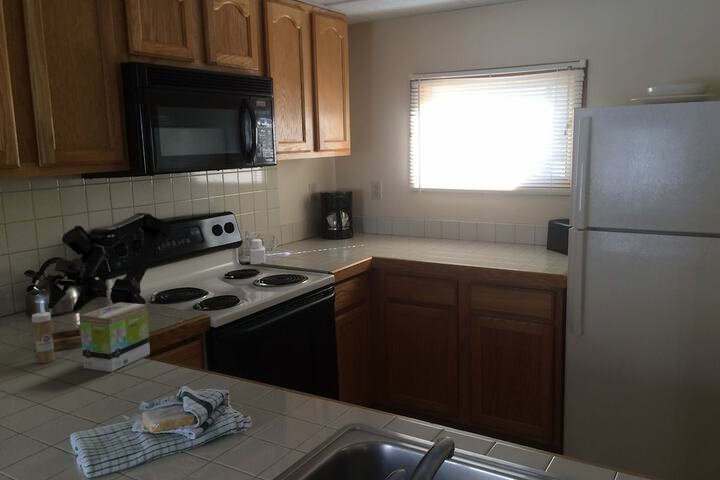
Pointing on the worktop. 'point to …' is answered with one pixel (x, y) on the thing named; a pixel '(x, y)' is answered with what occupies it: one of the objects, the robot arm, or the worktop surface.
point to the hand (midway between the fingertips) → (61, 309)
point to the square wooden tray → (67, 339)
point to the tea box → (114, 336)
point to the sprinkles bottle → (43, 337)
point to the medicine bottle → (257, 251)
